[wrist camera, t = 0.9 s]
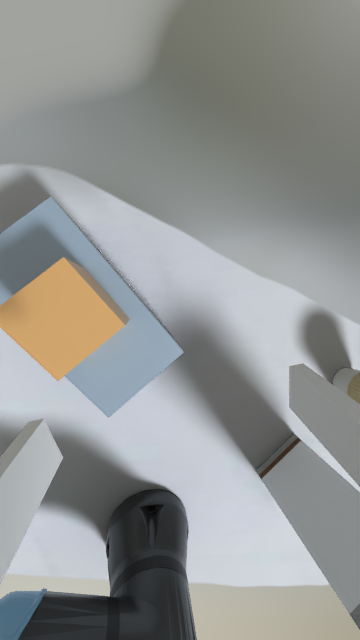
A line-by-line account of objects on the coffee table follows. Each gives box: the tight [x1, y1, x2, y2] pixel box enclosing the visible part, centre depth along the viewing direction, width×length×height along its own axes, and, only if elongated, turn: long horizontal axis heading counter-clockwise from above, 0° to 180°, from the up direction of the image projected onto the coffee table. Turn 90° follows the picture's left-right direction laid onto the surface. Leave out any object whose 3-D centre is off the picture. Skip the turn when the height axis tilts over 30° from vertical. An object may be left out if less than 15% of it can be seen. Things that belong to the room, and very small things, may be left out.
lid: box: [0, 197, 184, 418], centre depth 21 cm, size 13×24×8 cm, turn 39°
